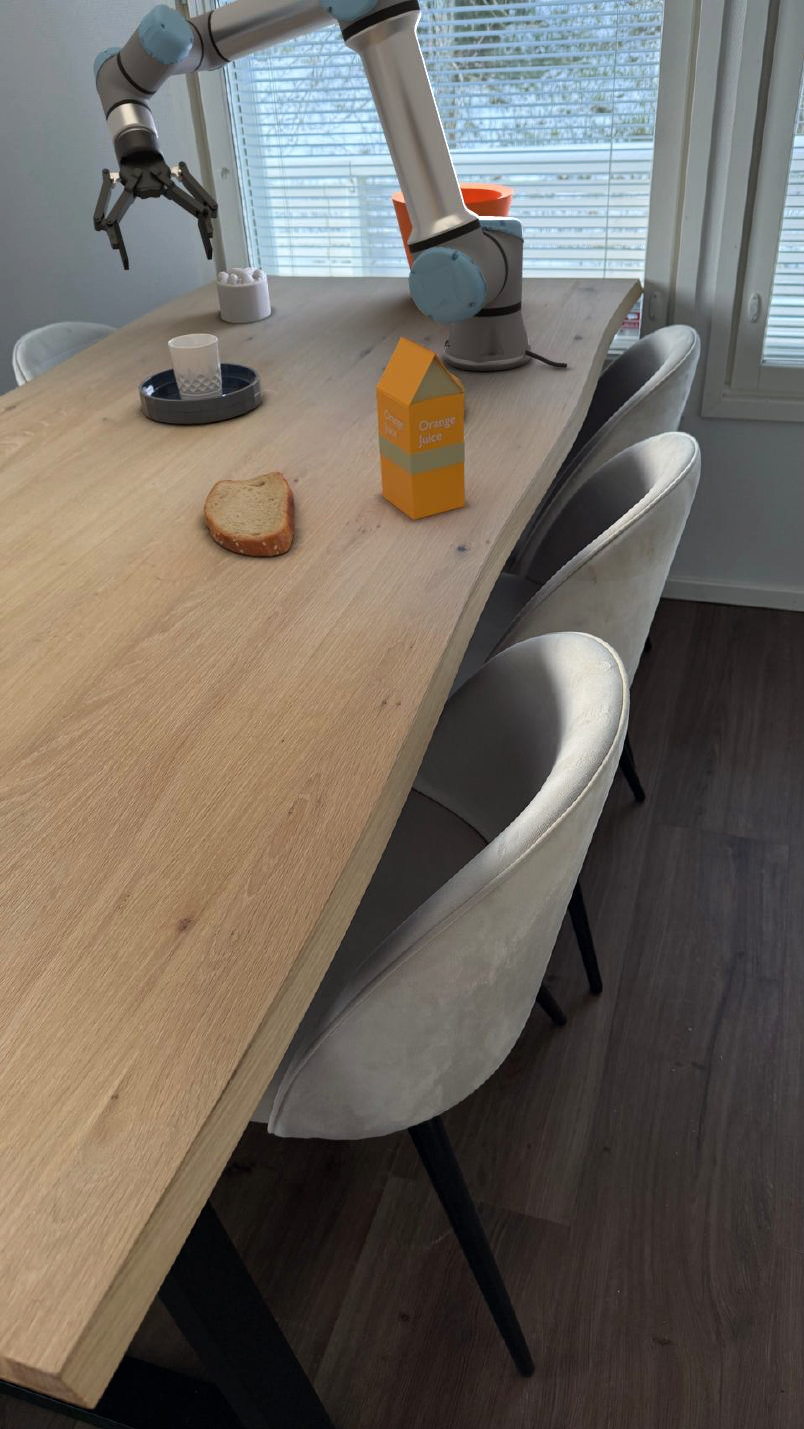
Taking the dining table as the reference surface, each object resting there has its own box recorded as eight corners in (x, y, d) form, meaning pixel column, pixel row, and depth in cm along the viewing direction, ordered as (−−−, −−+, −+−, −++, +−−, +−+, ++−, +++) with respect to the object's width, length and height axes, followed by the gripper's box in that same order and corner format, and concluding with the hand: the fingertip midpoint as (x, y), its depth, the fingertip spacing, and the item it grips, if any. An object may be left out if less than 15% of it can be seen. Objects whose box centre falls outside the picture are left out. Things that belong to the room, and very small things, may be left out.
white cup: (181, 396, 168) (170, 335, 162) (228, 393, 168) (218, 332, 162) (176, 412, 161) (165, 349, 156) (225, 408, 162) (215, 345, 156)
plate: (286, 400, 165) (283, 376, 163) (191, 435, 154) (186, 409, 151) (213, 378, 176) (210, 355, 174) (120, 409, 165) (114, 385, 163)
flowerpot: (516, 307, 205) (518, 201, 193) (395, 313, 206) (390, 207, 194) (507, 279, 225) (509, 180, 213) (397, 284, 226) (392, 187, 214)
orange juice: (412, 520, 125) (405, 358, 114) (381, 496, 132) (371, 341, 120) (466, 505, 128) (464, 346, 116) (433, 483, 134) (428, 329, 123)
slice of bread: (271, 563, 118) (267, 534, 115) (159, 533, 126) (153, 505, 124) (356, 505, 130) (354, 478, 127) (249, 481, 138) (245, 455, 136)
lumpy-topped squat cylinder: (271, 305, 216) (266, 262, 211) (269, 321, 206) (263, 276, 200) (223, 308, 216) (217, 266, 211) (219, 325, 205) (212, 280, 200)
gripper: (210, 153, 171) (242, 264, 168) (61, 168, 164) (92, 283, 162) (211, 120, 163) (245, 235, 161) (56, 134, 157) (88, 254, 154)
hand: (168, 260), depth 161 cm, fingers open, 13 cm apart
